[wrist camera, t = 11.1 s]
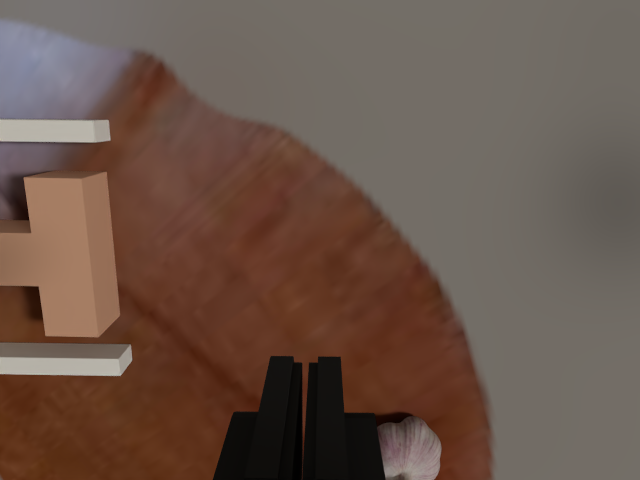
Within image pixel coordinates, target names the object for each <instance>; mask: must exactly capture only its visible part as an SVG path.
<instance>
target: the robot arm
mask: <svg viewBox="0 0 640 480" xmlns="http://www.w3.org/2000/svg"><path fill="white" fill-rule="evenodd" d="M302 464H303V479H302ZM213 480H386V478H385V472H384V466H383V460H382V454H381V448H380V442H379V436H378V430H377V424H376V418H375V414H374V413H344V402H343V387H342V372H341V357H318V363H309V373H308V390H307V407H306V424H305V441H304V457H303V434H302V363H299V362H294V357H293V356H271V357H270V361H269V366H268V370H267V375H266V380H265V384H264V389H263V393H262V398H261V403H260V407H259V412H234V413H233V415H232V418H231V421H230V424H229V428H228V431H227V434H226V438H225V441H224V444H223V448H222V451H221V454H220V458H219V461H218V464H217V468H216V471H215V474H214V478H213Z"/></svg>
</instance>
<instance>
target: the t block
mask: <svg viewBox="0 0 640 480" xmlns="http://www.w3.org/2000/svg"><path fill="white" fill-rule="evenodd" d="M24 184H25V191H26V198H27V206H28V213H29V220H0V285H5V286H39V292H40V299H41V306H42V313H43V320H44V328H45V335H46V336H69V337H99V336H100V335H101V334H102V333H103V332H104V331H105V330H106V329H107V328H108V327H109V326H110V325H111V324H112V323H113V322H114V321H115V320H116V319H117V318H118V317H119V316H120V310H119V299H118V289H117V278H116V267H115V257H114V246H113V236H112V225H111V214H110V204H109V193H108V182H107V172H99V171H51V172H46V173H42V174H37V175H33V176H28V177H24Z"/></svg>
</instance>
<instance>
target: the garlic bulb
mask: <svg viewBox="0 0 640 480" xmlns="http://www.w3.org/2000/svg"><path fill="white" fill-rule="evenodd" d="M377 430H378V436H379V442H380V448H381V454H382V460H383V466H384V472H385V478H386V480H434V479H435V478H436V476H437V474H438V472H439V469H440V455H441V443H440V440H439V438H438V437H437V435H436V434H435V433H434V432H433V431H432V430H431V429H430V428H429V427H428V426H427V424H426V423H425V422H424V421H423V420H422V419H421V418H419V417H415V416H409V417H407V418H405V419H404V420H403V421H402V422H400V423H391V422H389V423H384V424H381V425H379V426H378V427H377Z"/></svg>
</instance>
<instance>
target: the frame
mask: <svg viewBox="0 0 640 480" xmlns="http://www.w3.org/2000/svg"><path fill="white" fill-rule="evenodd" d="M0 141H18V142H102V141H110V130H109V120H70V119H0ZM131 361H132V352H131V344H69V343H0V374H33V375H100V376H121V374H122V373H123V372H124V370H125V369H126V368H127V367H128V365H129V364H130V363H131Z"/></svg>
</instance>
